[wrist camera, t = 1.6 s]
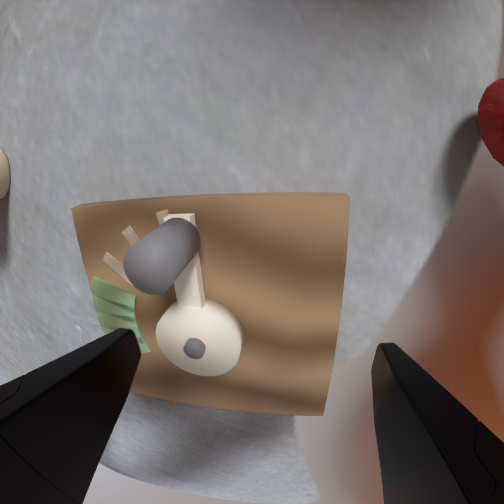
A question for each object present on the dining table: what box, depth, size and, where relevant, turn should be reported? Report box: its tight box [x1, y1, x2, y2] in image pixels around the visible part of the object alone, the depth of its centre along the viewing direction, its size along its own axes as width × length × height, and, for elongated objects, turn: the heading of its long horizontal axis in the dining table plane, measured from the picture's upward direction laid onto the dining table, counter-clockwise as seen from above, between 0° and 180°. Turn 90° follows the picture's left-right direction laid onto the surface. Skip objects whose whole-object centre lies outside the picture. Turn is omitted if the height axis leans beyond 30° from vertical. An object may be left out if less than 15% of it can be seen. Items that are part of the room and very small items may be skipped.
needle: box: [123, 213, 244, 376], centre depth 17 cm, size 12×6×5 cm, turn 3°
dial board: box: [71, 193, 350, 416], centre depth 21 cm, size 19×19×2 cm
